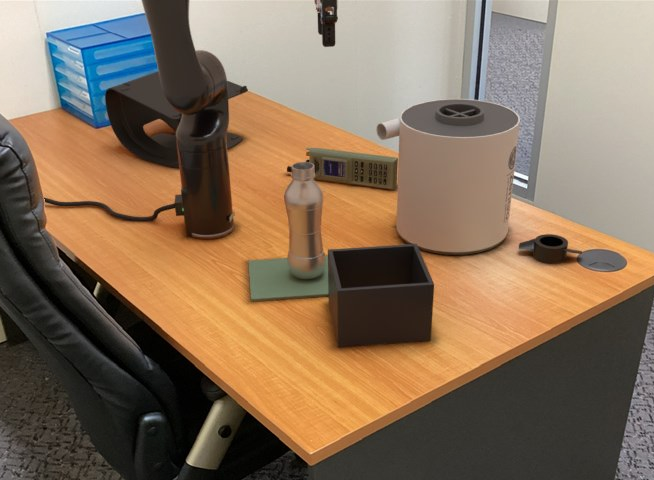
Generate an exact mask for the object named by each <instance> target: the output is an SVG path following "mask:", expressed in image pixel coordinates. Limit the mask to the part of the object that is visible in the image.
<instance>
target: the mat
mask: <svg viewBox="0 0 654 480" xmlns="http://www.w3.org/2000/svg"><path fill="white" fill-rule="evenodd" d="M287 259H288V257H281V258H266V259H252V260H251V259H250V260H248V261H247V262H248V274H249V275H248V276H249V291H250V302H265V301H266V302H267V301H279V300H280V301H281V300H294V299H309V298H310V299H311V298H323V297H328V254H327V255H326V254H325V259H326V264H325V270H324V271H323V273H322V274H321V275H320V276H319V277H316V278H313V279H300V278H297V277H295V276H293V275H292V274H291V272H290V271H289V268H288V264H287Z"/></svg>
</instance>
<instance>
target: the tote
mask: <svg viewBox="0 0 654 480" xmlns="http://www.w3.org/2000/svg"><path fill="white" fill-rule="evenodd" d="M327 255H328V296H327V297H328V307H329V312H330V317H331V321H332V325H333V330H334V336H335V340H336V344H337V348H347V347H348V348H350V347H363V346H377V345H390V344H405V343H418V342H430V341H431V340H432V327H433V325H432V324H433V311H434V295H435V283H434V280H433V277H432V275H431V274H430V271H429V269H428V266H427V264H426V262H425V260H424V257H423V255H422V252H421V249H419V248H418V246H417V244H408V243H406V244H395V245H391V244H390V245H379V246H376V245H375V246H361V247H348V248H347V247H346V248H335V249H334V248H332V249H331V248H330V249H327Z"/></svg>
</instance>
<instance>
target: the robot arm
mask: <svg viewBox="0 0 654 480" xmlns="http://www.w3.org/2000/svg"><path fill="white" fill-rule="evenodd" d="M141 3H142V7H143V11H144V14H145V19H146V22H147V25H148V29H149V31H150V36H151V41H152V45H153V50H154V55H155V61H156V66H157V71H158V72H159V77H160V82H161V86H162V90H163V93H164V95H165V97H166V99H167V101H168V102H169V104H170V105H171V106H172V107H173V108H174V109H175V110H176V111H178V112H179V113H181V114H182V117H181V121H180V123H179V126H178V128H177V130H176V131H175V135H176V144H177V152H178V161H179V168H178V169H179V176H180V177H179V178H180V194H174V195H175V197H174V202H173V203H170V204H167V205H163V206H159V207H157V208H156V209H155V210H154V212H153V214H152V215H150V216H149V215H148V216H133V215H129V214H123V213H119V212H116V211H114V210H113V209H111V208H110V206H108V205H107V204H105V203H104V202H99V201H94V200H82V201H81V200H80V201H79V200H78V201H60V200H59V201H58V200H55V199H52V198H48V197H44V199H45V202H44V203H46V204H49V205H52V206H57V207H63V208H65V207H68V208H69V207H98V208H100V209H103V210H104V211H106V213H108V215H110V216H112V217H114V218H116V219H121V220H125V221H130V222H152V221H155V220H156V219H157V218H158V216H159V215H160V214H161V213H162V212H165V211H169V210H173V209H174V211H175V217H182V216H183V221H184V228H185V236H186V238H194V239H201V240H213V239H219V238H222V237H226V236H228V235H230V234H231V233H232V232H233V231H234V230H235V220H234V217H235V215H236V214H235V210H234V209H233V197H232V187H231V186H232V185H231V176H230V165H229V164H230V162H229V151H228V150H229V149H228V150H227V137H226V135H227V132H228V129H229V125H230V105H229V99H228V84H227V81H228V77H227V74H226V70H225V68H224V65H223V64H222V62H221V60H220V59H219V57H217V56H216V54H213V53H212V52H210V51H208V50H204V49H197V50H196V47H195V44H194V41H193V37H192V31H191V26H190V0H141ZM314 4H315V11H316V13H317V33H318V35H321V44H322V46H323V47H324V48H331V47H335V46H336V24H337V23H338V20H339V17H338V8H339V1H338V0H314Z"/></svg>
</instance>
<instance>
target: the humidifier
mask: <svg viewBox="0 0 654 480" xmlns="http://www.w3.org/2000/svg"><path fill="white" fill-rule="evenodd" d="M520 125H521V116H520V115H519V113H518V112H516V111H515V110H514V109H512V108H510V107H507V106H505V105H503V104H499V103H495V102H491V101H487V100H479V99H470V98H444V99H443V98H442V99H433V100H427V101H423V102H419V103H415V104H412V105H411V106H409V107H406V108H405V109H404V110H402V111H401V113H400V115H399V117H397V118H393V119H390V120H386V121H383V122H379V123H378V124H377V125H376V129H375V130H376V135H377V137H378V139H379V140H381V141H384V140H389V139H393V138H396V137H398V168H397V190H396V191H397V192H396V193H397V194H396V226H395V227H396V232H397V234H398V236H399V237H400V238H401V240H402V241H403V242H405V243H406V244H417V246H418V248H419V250H420V251H421V250H422V251H424V252H428V253H433V254H437V255H439V254H440V255H445V256H446V255H449V256H465V255H474V254H478V253H484V252H486V251H489V250H491V249H494V248H496V247H497V246H499V245H500V244H502V242H504V240H505V239H506V238H507V235H508V231H509V222H510V213H511V205H512V198H513V197H512V196H513V188H514V179H515V169H516V160H517V151H518V142H519V134H520Z"/></svg>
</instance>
